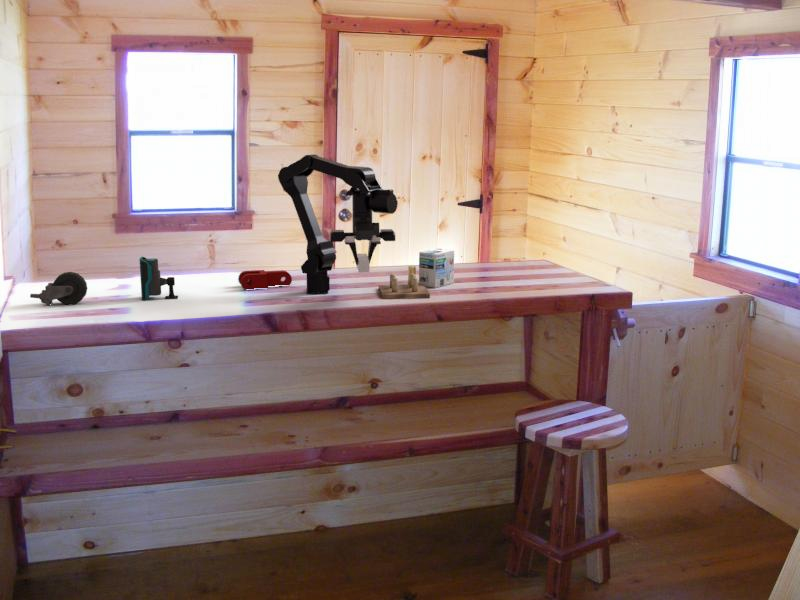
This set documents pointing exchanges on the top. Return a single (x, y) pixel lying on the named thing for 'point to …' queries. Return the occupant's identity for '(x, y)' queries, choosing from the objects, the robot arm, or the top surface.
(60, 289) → the caster wheel
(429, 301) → the top surface
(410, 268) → the brass pin
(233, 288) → the top surface
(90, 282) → the top surface
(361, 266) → the grey rectangular block
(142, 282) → the surveillance camera
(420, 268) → the light bulb box
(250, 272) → the mechanical linkage
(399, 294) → the peg board
